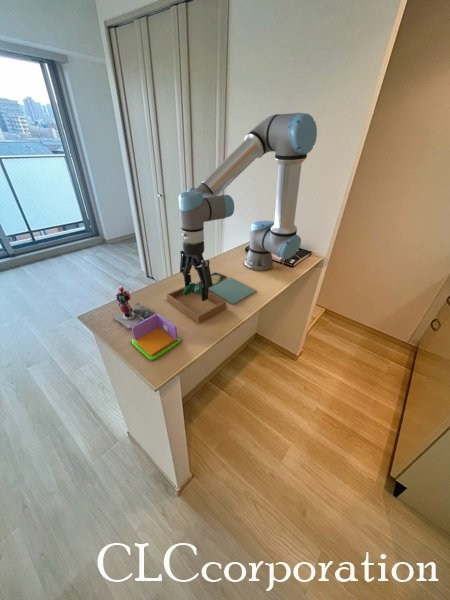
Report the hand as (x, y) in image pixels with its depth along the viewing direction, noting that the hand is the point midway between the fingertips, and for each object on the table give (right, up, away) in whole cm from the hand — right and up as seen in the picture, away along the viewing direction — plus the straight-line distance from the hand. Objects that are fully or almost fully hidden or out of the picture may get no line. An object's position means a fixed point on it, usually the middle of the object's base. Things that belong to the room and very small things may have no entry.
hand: (196, 294), depth 95 cm
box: (0, -4, +2) cm, 5 cm away
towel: (+14, +2, +12) cm, 19 cm away
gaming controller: (0, 0, +1) cm, 1 cm away
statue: (-23, -9, -6) cm, 25 cm away
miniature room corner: (-11, -16, -16) cm, 26 cm away
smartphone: (+5, +7, +19) cm, 21 cm away
